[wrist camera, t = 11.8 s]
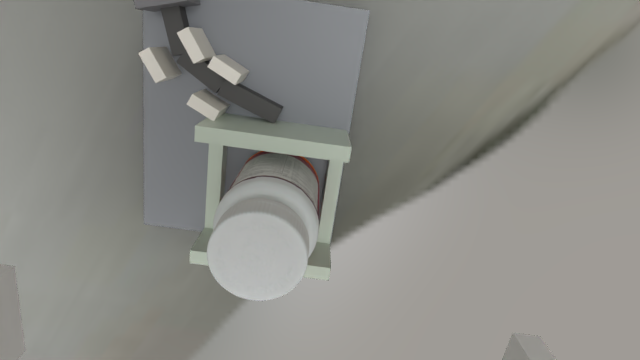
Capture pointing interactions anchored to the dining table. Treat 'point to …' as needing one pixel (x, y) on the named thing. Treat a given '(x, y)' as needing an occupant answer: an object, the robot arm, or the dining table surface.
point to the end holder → (276, 140)
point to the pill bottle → (266, 227)
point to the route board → (237, 86)
